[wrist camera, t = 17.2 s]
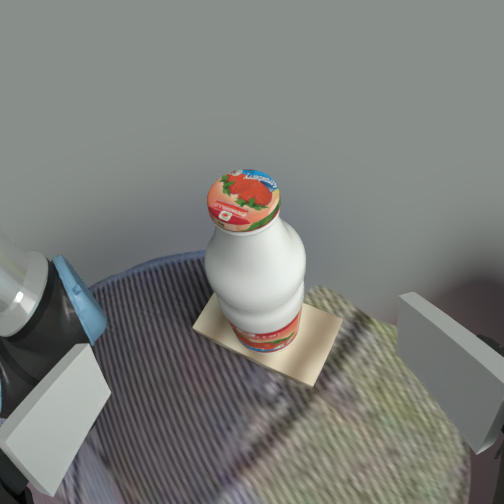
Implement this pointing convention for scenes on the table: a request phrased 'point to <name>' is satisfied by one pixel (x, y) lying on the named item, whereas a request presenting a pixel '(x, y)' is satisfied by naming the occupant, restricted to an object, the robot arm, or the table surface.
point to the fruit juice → (255, 262)
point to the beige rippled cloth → (289, 360)
